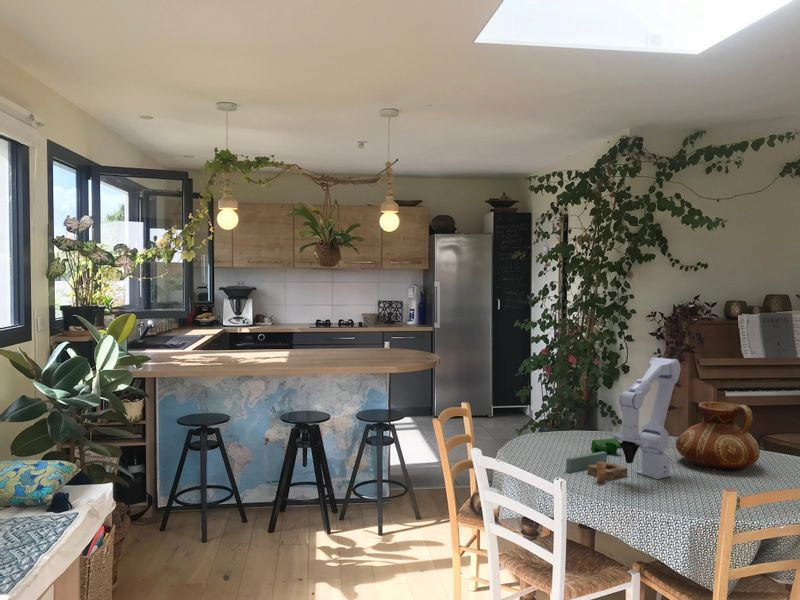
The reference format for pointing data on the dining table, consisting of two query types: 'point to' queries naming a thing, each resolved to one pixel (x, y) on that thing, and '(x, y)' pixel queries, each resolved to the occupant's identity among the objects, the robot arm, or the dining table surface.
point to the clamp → (605, 446)
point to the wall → (584, 461)
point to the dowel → (601, 472)
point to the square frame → (609, 471)
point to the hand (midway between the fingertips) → (629, 462)
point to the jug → (720, 439)
